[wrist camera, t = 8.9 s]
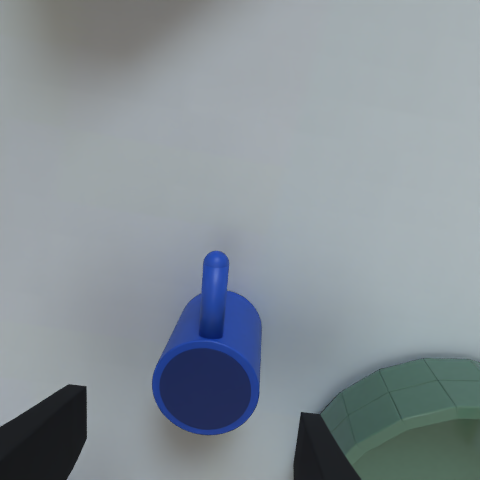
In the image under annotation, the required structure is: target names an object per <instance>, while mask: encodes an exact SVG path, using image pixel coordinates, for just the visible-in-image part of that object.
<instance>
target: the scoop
mask: <svg viewBox="0 0 480 480" xmlns="http://www.w3.org/2000/svg"><path fill="white" fill-rule="evenodd" d="M228 270H229V260H228V258H227V256H226V255H225V254H224V253H222V252H220V251H213V252H210V253H209V254H208V255H207V256H206V257H205V259H204V263H203V278H202V293H201V294H199V295H197V296H196V297H194V298H193V299H192V300H191V301H190V302H189V303H188V304H187V305H186V307H185V308H184V310H183V312H182V314H181V316H180V318H179V320H178V322H177V324H176V326H175V328H174V330H173V333H172V335H171V337H170V339H169V341H168V343H167V345H166V347H165V349H164V351H163V353H162V355H161V357H160V359H159V361H158V363H157V365H156V368H155V370H154V374H153V379H152V389H153V395H154V398H155V401H156V403H157V405H158V407H159V409H160V410H161V412H162V413H163V414H164V415H165V416H166V418H168V419H169V420H170V421H171V422H172V423H173V424H175V425H176V426H178V427H180V428H182V429H184V430H186V431H188V432H192V433H195V434H201V435H217V434H223V433H226V432H229V431H232V430H234V429H236V428H237V427H239V426H241V425H242V424H243V423H244V422H245V421H246V420H247V419H248V418H249V417H250V416H251V415H252V413H253V412H254V410H255V408H256V406H257V403H258V399H259V388H260V361H261V333H262V326H261V320H260V317H259V315H258V313H257V311H256V309H255V308H254V306H253V305H252V304H251V303H250V302H249V301H248V300H247V299H245V298H244V297H242V296H241V295H239V294H237V293H234V292H231V291H227V282H228Z"/></svg>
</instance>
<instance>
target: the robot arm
mask: <svg viewBox="0 0 480 480" xmlns="http://www.w3.org/2000/svg"><path fill="white" fill-rule="evenodd" d="M86 439H87V393H86V386H78V385H70V384H69V385H67V386H65V387H63V388H62V389H60V390H59V391H57V392H55V393H54V394H52V395H51V396H49V397H48V398H46V399H45V400H43V401H42V402H40V403H38V404H37V405H35V406H34V407H32V408H31V409H29V410H27V411H26V412H24V413H23V414H21V415H19V416H18V417H16V418H15V419H13V420H11V421H10V422H8V423H6V424H4V425H3V426H1V427H0V480H66V479H67V478H68V476H69V474H70V473H71V471H72V469H73V467H74V465H75V463H76V461H77V459H78V457H79V455H80V452H81V450H82V448H83V446H84V443H85V441H86ZM294 480H362V479H361V478H360V476H359V475H358V474H357V472H356V471H355V469H354V468H353V467H352V465H351V464H350V462H349V461H348V459H347V458H346V456H345V455H344V453H343V452H342V450H341V448H340V447H339V445H338V444H337V442H336V440H335V439H334V437H333V435H332V434H331V432H330V430H329V429H328V427H327V425H326V423H325V421H324V420H323V418H322V416H321V415H320V414H313V413H305V412H301V417H300V423H299V430H298V437H297V444H296V451H295V457H294Z"/></svg>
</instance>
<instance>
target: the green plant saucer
mask: <svg viewBox="0 0 480 480" xmlns="http://www.w3.org/2000/svg"><path fill="white" fill-rule="evenodd" d="M320 415H321V416H322V418H323V420H324V421H325V423H326V425H327V427H328V429H329V430H330V432H331V434H332V435H333V437H334V439H335V440H336V442H337V444H338V445H339V447H340V448H341V450H342V452H343V453H344V455H345V456H346V458H347V459H348V461H349V462H350V464H351V465H352V467H353V468H354V469H355V471H356V472H357V474H358V475H359V476H360V478H361V479H362V480H480V362H476V361H473V360H469V359H434V358H423V359H418V360H414V361H411V362H407V363H403V364H399V365H395V366H391V367H387V368H383V369H379V371H376V372H374V373H372V374H371V375H369V376H367V377H365V378H364V379H362V380H360V381H359V382H357V383H355V384H353V385H352V386H350V387H348V388H347V389H345V390H343V391H342V392H340V393H339V394H338V395H337V396H336V397H335V399H334V400H333V401H332V402H331V403H330V404H329V405H328V406H327V407H326V408H325V410H324V411H323V412H322V413H321V414H320Z"/></svg>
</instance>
